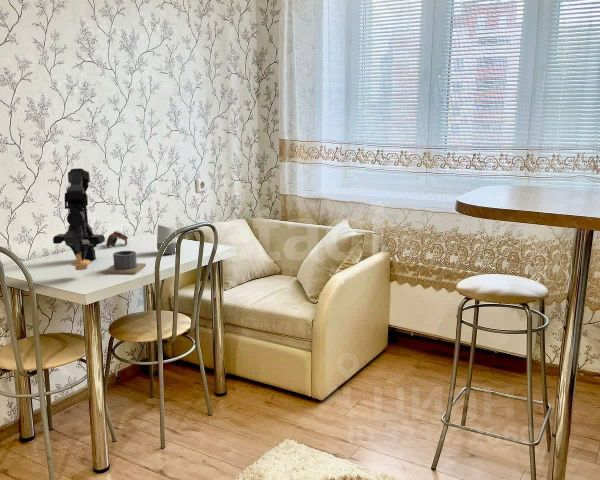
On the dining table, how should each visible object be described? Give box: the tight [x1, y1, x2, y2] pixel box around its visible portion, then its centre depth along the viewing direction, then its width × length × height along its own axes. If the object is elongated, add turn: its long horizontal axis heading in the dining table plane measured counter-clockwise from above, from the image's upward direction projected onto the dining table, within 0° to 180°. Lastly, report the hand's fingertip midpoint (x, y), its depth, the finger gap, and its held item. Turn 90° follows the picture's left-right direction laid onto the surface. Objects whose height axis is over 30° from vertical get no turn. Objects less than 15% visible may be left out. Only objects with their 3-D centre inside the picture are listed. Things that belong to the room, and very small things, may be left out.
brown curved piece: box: [105, 230, 129, 248], centre depth 291 cm, size 12×10×8 cm
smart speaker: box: [156, 223, 178, 255], centre depth 276 cm, size 10×9×14 cm
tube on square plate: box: [103, 250, 147, 275], centre depth 248 cm, size 13×13×7 cm
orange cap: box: [70, 252, 91, 271], centre depth 236 cm, size 7×7×6 cm
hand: (80, 260), depth 236 cm, fingers closed on orange cap
